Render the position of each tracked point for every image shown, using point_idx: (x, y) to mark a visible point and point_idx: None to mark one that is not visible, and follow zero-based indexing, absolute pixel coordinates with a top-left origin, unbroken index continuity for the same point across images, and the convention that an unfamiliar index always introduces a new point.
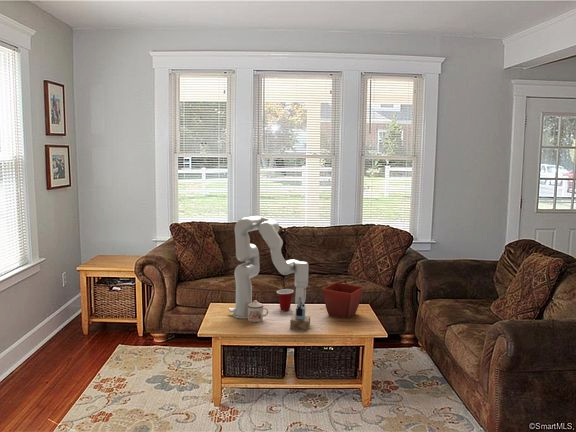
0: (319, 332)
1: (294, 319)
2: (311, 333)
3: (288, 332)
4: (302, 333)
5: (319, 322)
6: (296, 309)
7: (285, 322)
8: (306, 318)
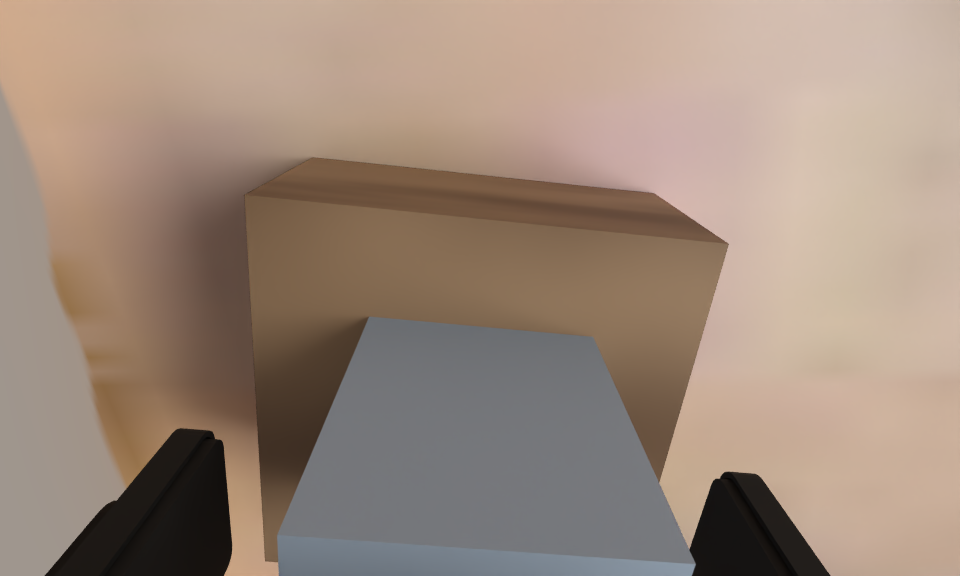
0: (257, 572)
1: (331, 297)
2: None
3: (94, 134)
4: (132, 371)
5: None
6: (286, 539)
7: (725, 35)
8: None
